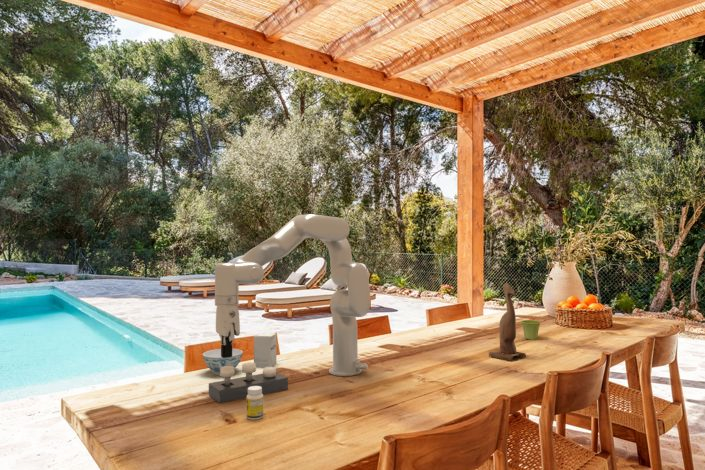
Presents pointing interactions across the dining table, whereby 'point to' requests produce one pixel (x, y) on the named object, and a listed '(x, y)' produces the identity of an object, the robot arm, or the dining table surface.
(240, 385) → the knob plate
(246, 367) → the knob middle
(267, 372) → the knob
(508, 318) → the bird sculpture
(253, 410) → the supplement bottle
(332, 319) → the robot arm
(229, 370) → the knob
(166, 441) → the dining table surface
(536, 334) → the plant pot
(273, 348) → the supplement box
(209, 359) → the chinaware
